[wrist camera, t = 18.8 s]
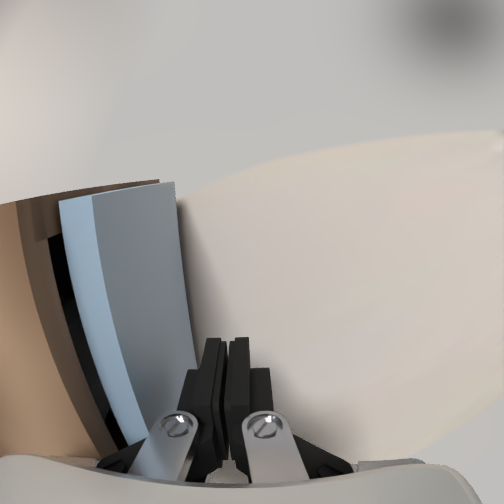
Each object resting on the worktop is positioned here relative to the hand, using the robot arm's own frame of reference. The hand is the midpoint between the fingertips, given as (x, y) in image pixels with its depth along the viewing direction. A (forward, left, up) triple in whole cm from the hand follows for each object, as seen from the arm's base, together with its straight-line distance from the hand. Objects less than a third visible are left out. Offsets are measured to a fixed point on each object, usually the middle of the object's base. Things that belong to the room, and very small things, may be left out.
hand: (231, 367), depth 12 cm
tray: (0, +10, -5) cm, 11 cm away
